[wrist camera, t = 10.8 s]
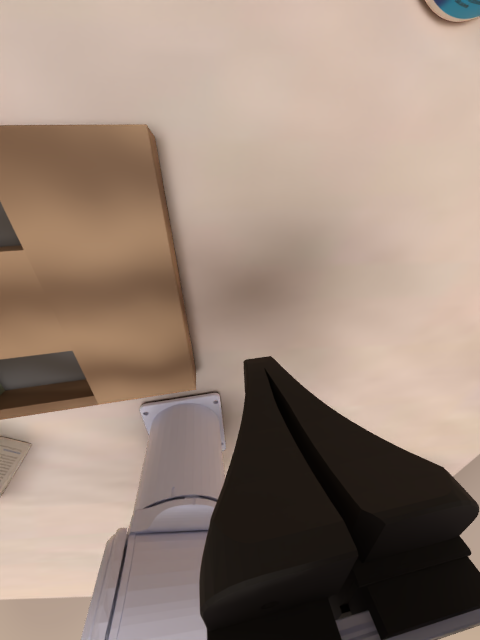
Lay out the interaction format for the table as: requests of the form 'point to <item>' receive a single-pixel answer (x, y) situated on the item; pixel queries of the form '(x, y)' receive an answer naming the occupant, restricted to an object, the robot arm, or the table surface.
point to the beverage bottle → (455, 9)
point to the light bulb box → (10, 459)
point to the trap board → (86, 271)
